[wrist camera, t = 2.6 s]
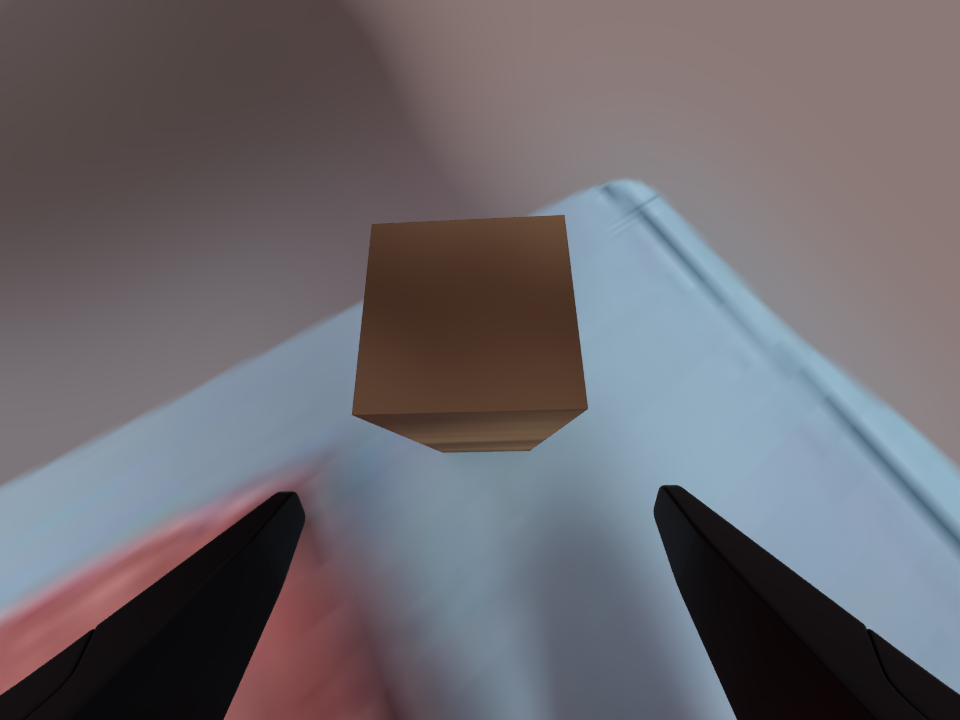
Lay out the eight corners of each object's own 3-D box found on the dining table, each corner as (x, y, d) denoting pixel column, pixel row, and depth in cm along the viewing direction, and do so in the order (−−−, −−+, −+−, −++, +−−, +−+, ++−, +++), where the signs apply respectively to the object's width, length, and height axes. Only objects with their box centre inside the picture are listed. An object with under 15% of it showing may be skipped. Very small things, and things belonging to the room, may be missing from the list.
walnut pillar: (529, 450, 19) (587, 408, 7) (442, 452, 20) (352, 415, 7) (524, 367, 21) (564, 214, 9) (444, 369, 21) (371, 224, 9)
